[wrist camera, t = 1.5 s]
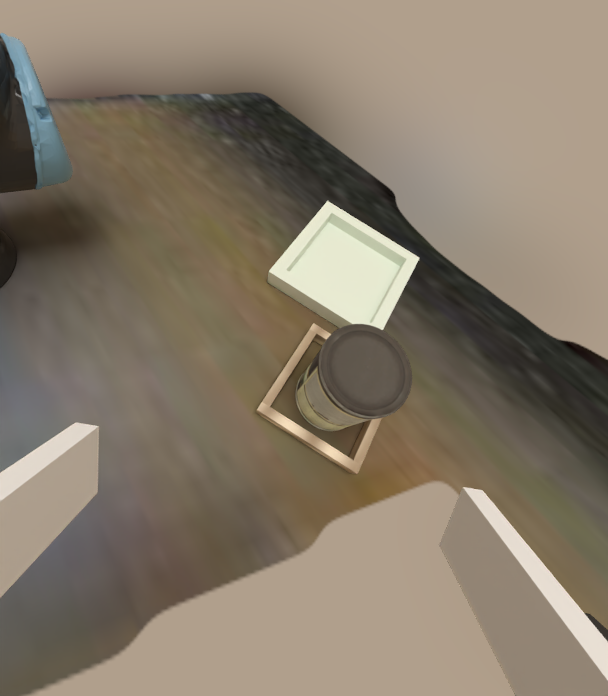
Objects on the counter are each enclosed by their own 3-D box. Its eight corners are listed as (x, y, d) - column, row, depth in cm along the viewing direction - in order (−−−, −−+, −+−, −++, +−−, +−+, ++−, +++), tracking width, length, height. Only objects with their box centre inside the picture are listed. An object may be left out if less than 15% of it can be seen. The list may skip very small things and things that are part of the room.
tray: (267, 282, 47) (268, 271, 45) (323, 213, 56) (327, 200, 53) (369, 346, 47) (377, 339, 44) (410, 268, 55) (419, 257, 53)
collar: (255, 412, 39) (256, 409, 37) (309, 330, 46) (313, 323, 44) (350, 473, 39) (357, 474, 37) (391, 381, 46) (399, 377, 43)
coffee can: (296, 359, 44) (320, 316, 31) (360, 367, 45) (408, 330, 33) (292, 429, 40) (317, 413, 27) (362, 434, 41) (417, 422, 29)
